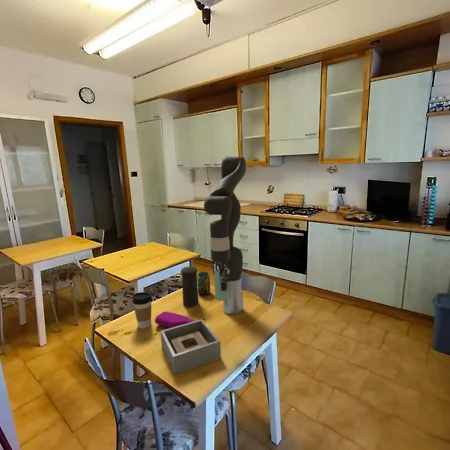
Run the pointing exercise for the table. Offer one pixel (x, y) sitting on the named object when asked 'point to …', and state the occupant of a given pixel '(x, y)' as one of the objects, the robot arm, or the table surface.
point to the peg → (219, 288)
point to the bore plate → (187, 342)
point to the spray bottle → (172, 319)
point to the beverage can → (203, 283)
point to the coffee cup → (142, 309)
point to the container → (189, 286)
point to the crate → (194, 355)
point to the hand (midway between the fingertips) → (221, 288)
